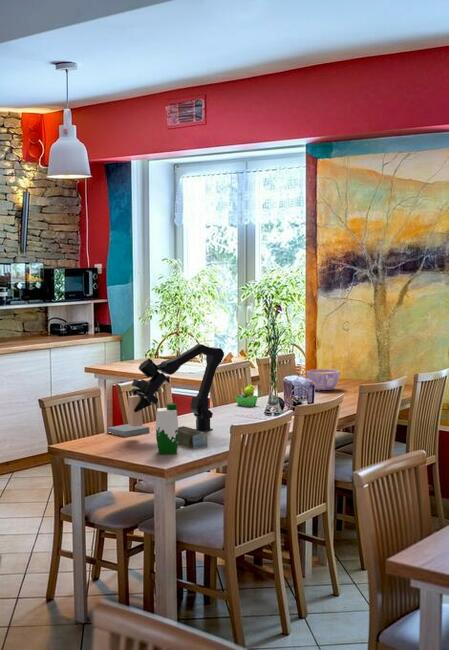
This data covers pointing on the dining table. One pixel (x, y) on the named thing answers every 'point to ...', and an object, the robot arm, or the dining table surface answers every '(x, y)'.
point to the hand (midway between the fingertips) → (132, 410)
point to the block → (134, 417)
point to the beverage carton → (192, 437)
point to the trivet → (128, 430)
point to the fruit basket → (247, 397)
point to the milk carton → (167, 429)
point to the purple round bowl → (324, 378)
